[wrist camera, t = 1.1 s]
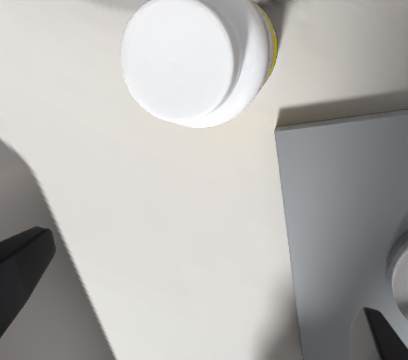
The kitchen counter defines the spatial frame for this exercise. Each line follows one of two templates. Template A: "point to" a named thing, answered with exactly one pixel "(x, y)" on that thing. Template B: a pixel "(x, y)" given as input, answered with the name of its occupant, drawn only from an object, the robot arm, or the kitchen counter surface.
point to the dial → (399, 273)
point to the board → (343, 222)
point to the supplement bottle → (197, 58)
